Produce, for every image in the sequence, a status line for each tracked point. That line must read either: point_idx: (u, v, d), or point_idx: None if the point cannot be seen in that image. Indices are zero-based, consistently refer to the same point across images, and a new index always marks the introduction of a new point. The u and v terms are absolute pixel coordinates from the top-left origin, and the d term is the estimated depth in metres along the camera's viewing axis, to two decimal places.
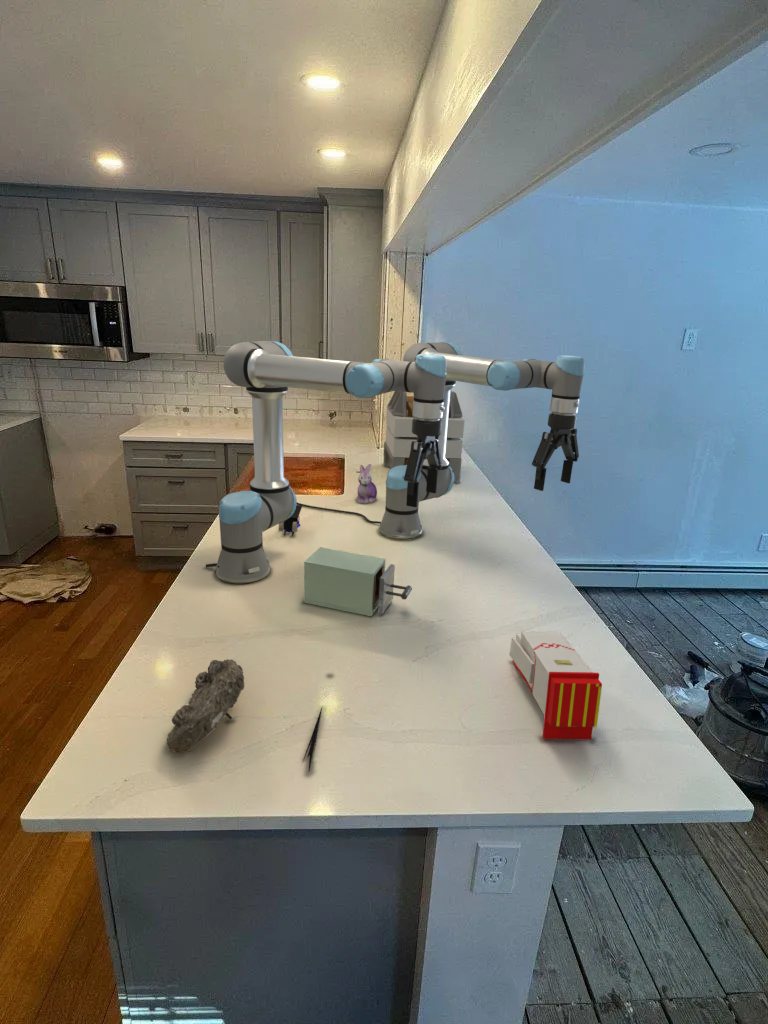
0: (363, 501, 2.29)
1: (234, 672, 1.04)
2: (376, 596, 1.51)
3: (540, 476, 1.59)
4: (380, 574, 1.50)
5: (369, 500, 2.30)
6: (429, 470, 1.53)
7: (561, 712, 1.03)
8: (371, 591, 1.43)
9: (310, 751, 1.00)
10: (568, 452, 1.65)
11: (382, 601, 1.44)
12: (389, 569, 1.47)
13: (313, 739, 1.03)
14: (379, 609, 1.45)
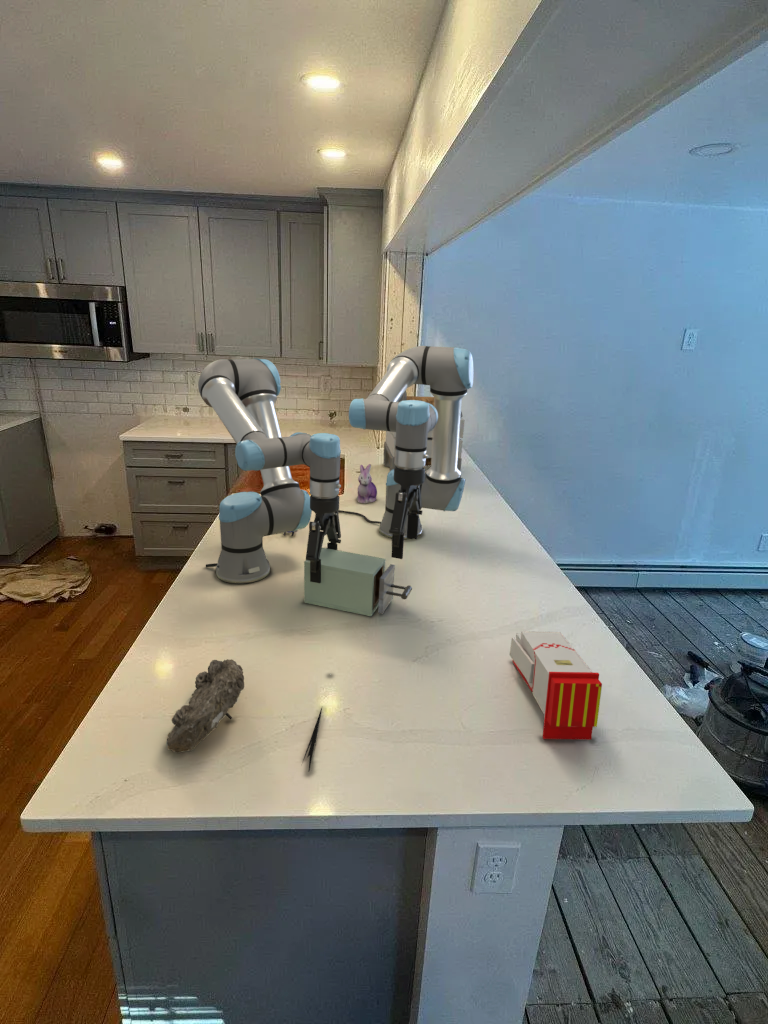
0: (363, 501, 2.29)
1: (234, 672, 1.04)
2: (376, 596, 1.51)
3: (399, 543, 1.35)
4: (380, 574, 1.50)
5: (369, 500, 2.30)
6: (329, 545, 1.55)
7: (561, 712, 1.03)
8: (371, 591, 1.43)
9: (310, 751, 1.00)
10: (414, 506, 1.44)
11: (382, 601, 1.44)
12: (389, 569, 1.47)
13: (313, 739, 1.03)
14: (379, 609, 1.45)
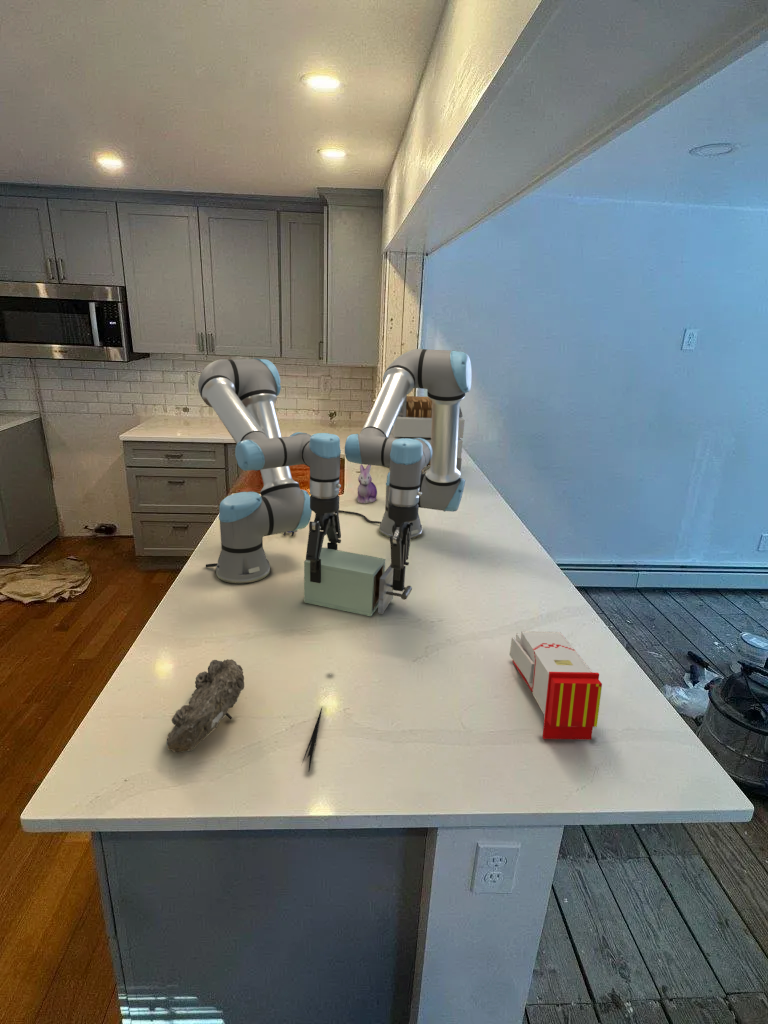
0: (363, 501, 2.29)
1: (234, 672, 1.04)
2: (376, 596, 1.51)
3: (400, 577, 1.44)
4: (380, 574, 1.50)
5: (369, 500, 2.30)
6: (329, 544, 1.55)
7: (561, 712, 1.03)
8: (371, 592, 1.43)
9: (310, 751, 1.00)
10: None
11: (382, 601, 1.44)
12: (389, 569, 1.47)
13: (313, 739, 1.03)
14: (379, 609, 1.45)
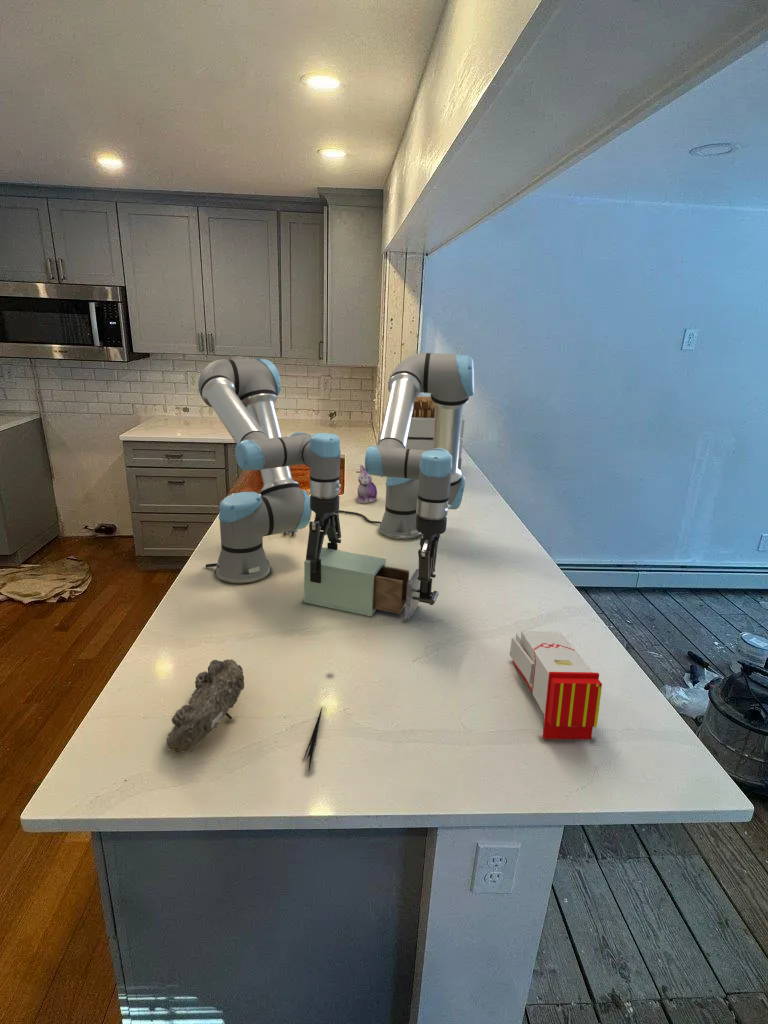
0: (363, 501, 2.29)
1: (234, 672, 1.04)
2: (402, 601, 1.49)
3: (427, 589, 1.42)
4: (406, 579, 1.48)
5: (369, 500, 2.30)
6: (329, 544, 1.55)
7: (561, 712, 1.03)
8: (371, 592, 1.43)
9: (310, 751, 1.00)
10: None
11: (409, 607, 1.42)
12: (416, 574, 1.45)
13: (313, 739, 1.03)
14: (406, 615, 1.43)
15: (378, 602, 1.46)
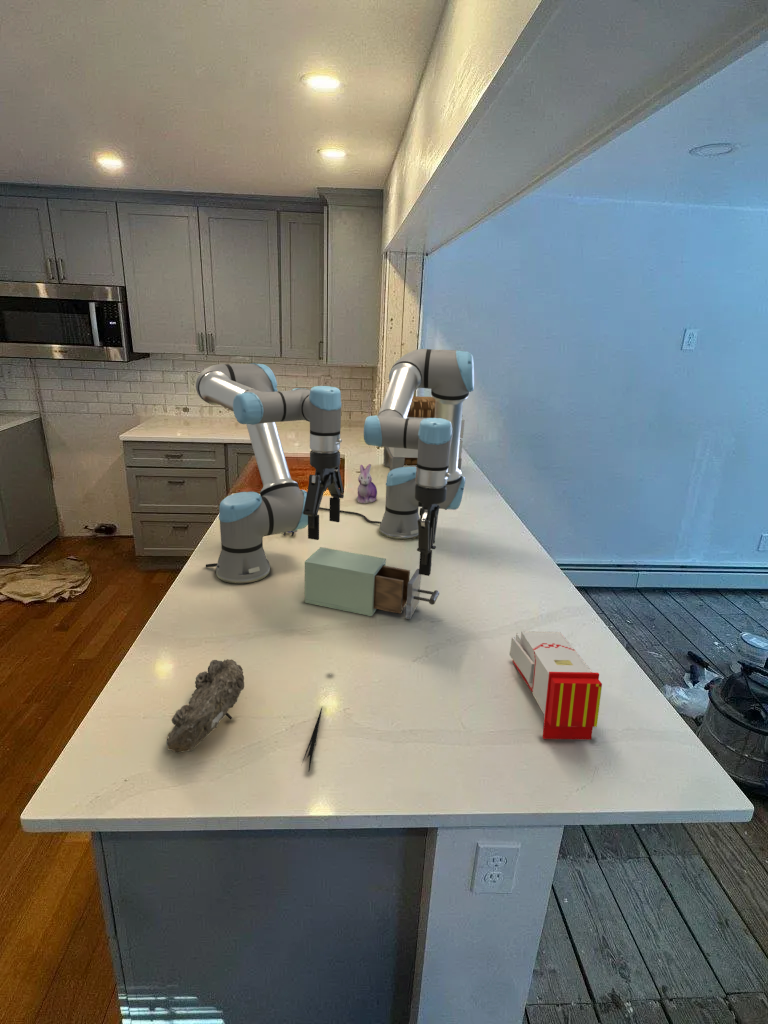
0: (363, 501, 2.29)
1: (234, 672, 1.04)
2: (402, 601, 1.49)
3: (427, 561, 1.40)
4: (406, 579, 1.48)
5: (369, 500, 2.30)
6: (331, 499, 1.52)
7: (561, 712, 1.03)
8: (372, 591, 1.43)
9: (310, 751, 1.00)
10: None
11: (410, 606, 1.42)
12: (416, 573, 1.45)
13: (313, 739, 1.03)
14: (407, 615, 1.43)
15: (379, 602, 1.46)
